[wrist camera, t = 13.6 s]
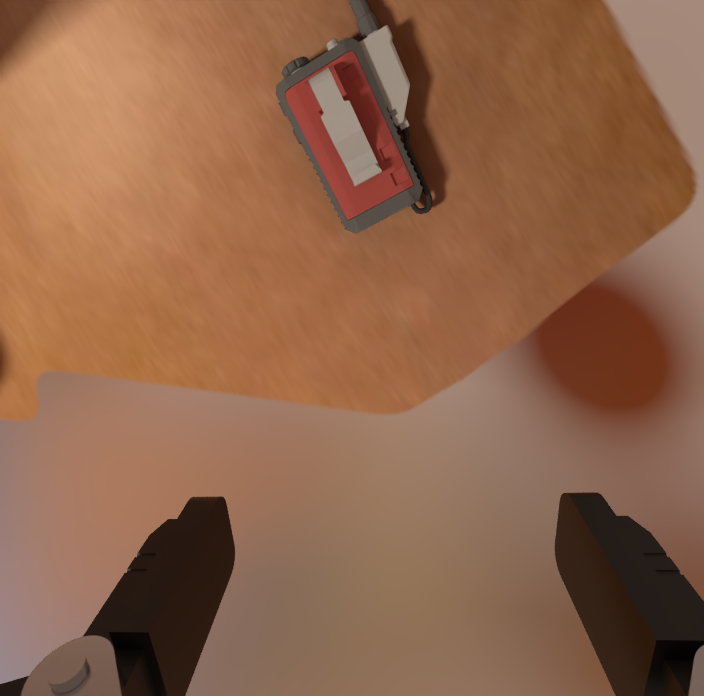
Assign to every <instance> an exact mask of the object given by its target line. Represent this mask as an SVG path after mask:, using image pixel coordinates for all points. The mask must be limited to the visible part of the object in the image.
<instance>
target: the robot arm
mask: <svg viewBox="0 0 704 696" xmlns="http://www.w3.org/2000/svg"><path fill="white" fill-rule="evenodd" d="M555 557H556V562H557V566H558V570H559V573H560V575H561V578H562V580H563V582H564V584H565V586H566V588H567V591H568V593H569V595H570V597H571V599H572V602H573V603H574V606H575V608H576V610H577V612H578V614H579V617H580V619H581V621H582V623H583V625H584V628H585V630H586V632H587V634H588V636H589V639H590V641H591V643H592V645H593V647H594V649H595V652H596V654H597V656H598V658H599V660H600V663H601V665H602V667H603V669H604V671H605V673H606V676H607V678H608V680H609V682H610V684H611V686H612V689H613V691H614V693H615V695H616V696H704V601H703V600H702V599H701V597H700V596H699V595H698V594H697V592H696V591H695V590H694V588H693V587H692V586H691V584H690V583H689V582H688V581H687V579H686V578H685V577H684V575H681V574H680V572H679V569H678V568H677V566H676V565H675V564H674V562H673V561H672V560H671V559H670V557H667V556H666V552H665V551H664V550H663V548H662V547H661V546H660V544H659V543H658V542H657V540H656V539H655V538H654V537H653V536H652V534H651V533H650V532H649V531H647V530H646V529H645V528H643V527H642V526H641V525H639V524H638V523H637V522H635V521H634V520H633V519H631V518H630V517H628V516H616V515H615V513H614V512H613V510H612V509H611V508H610V506H609V505H608V503H607V502H606V500H605V499H604V498H603V496H602V495H601V494H599V493H563V494H562V495H561V498H560V504H559V513H558V522H557V530H556V539H555ZM234 560H235V546H234V540H233V535H232V530H231V525H230V519H229V514H228V509H227V505H226V501H225V499H224V498H223V497H192V498H190V500H189V501H188V502H187V504H186V505H185V507H184V509H183V510H182V512H181V514H180V515H179V517H178V519H168V520H167V521H166V522H164V523H163V524H162V525H161V526H160V527H159V528H157V529H156V530H155V531H154V532H153V533H151V534H150V535H149V537H148V538H147V540H146V541H145V543H144V545H143V546H142V547H141V549H140V550H139V552H138V555H137V557H135V558H134V560H133V561H132V563H131V564H130V566H129V567H128V569H127V573H124V575H123V577H122V578H121V579H120V581H119V582H118V584H117V585H116V587H115V589H114V590H113V592H112V593H111V595H110V596H109V598H108V599H107V601H106V602H105V604H104V605H103V607H102V608H101V610H100V611H99V613H98V614H97V616H96V617H95V619H94V621H93V622H92V624H91V625H90V627H89V628H88V630H87V631H86V633H85V634H84V636H83V637H80V638H77V639H74V640H72V641H69V642H67V643H65V644H63V645H62V646H60V647H58V648H57V649H55V650H54V651H52V652H51V653H50V654H49V655H48V656H46V657H45V658H44V659H43V660H42V661H41V662H40V663H39V664H38V665H37V666H36V668H35V669H34V670H33V671H32V673H31V674H30V675H29V676H27V677H24V678H21V679H17V680H14V681H10V682H7V683H3V684H0V696H185V694H186V692H187V689H188V687H189V684H190V682H191V678H192V676H193V674H194V671H195V668H196V666H197V663H198V660H199V658H200V655H201V653H202V650H203V647H204V645H205V642H206V640H207V637H208V634H209V632H210V629H211V626H212V624H213V621H214V619H215V616H216V613H217V611H218V608H219V605H220V603H221V600H222V598H223V595H224V592H225V590H226V587H227V584H228V582H229V579H230V577H231V574H232V570H233V566H234Z"/></svg>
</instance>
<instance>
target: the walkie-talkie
mask: <svg viewBox="0 0 704 696" xmlns="http://www.w3.org/2000/svg"><path fill="white" fill-rule="evenodd" d="M349 3H350V5H351V7H352V9H353V12H354V14H355V16H356V19H357V21H358V22H357V26H358V28H359V30H360V33H361V35H362V37H363V40H362V41H360V42H358V41H356V40H355V39H353V38H350V39H348V38H344V39H342V40H341V41H340V42H338V40H337V39H333V40H331V41H330V42H329V43H328V44H327V48H328V50H329V51H327V52H326V53H324V54H322V55H321V56H319V57H318V58H316V59H315V60H313V61H311V62H309V60H308V58H307V57H300V58H297V59H295V60H293V61H291V62H290V63H289V64H287V65H286V66H285V68H284V69H283V71H282V75H283V76H284V78H285V79H283V80H282V81H281V82H280V83H279V84H277V85H276V95H277V97H278V99H279V101H280V102H279V105H280V107H281V109H282V111H283V113H284V115H285V116H287V117H288V119H289V121H290V123H291V125H292V127H293V132H294V134H295V136H296V138H297V140H298V142H299V144H302V146H303V148H304V150H305V152H306V154H307V155H309V157H310V159H309V160H310V161H311V162H312V163H313V168H314V169H316V171H317V176H319V177H320V179H321V180H320V182H321V183H323V185H324V190H326V191H327V193H328V194H327V195H328V197H330V199H331V203H333V205H334V207H335V208H334V209H335V210H336V211H337V212H338V217H340V218H341V220H342V221H341V223H342V224H344V226H345V228H344V229H346V230H348V231H351V232H353V233H358V232H360V231H362V230H364V229H366V228H368V227H370V226H372V225H373V224H375V223H377V222H379V221H381V220H383V219H385V218H387V217H389V216H391V215H392V214H394V213H396V212H398V211H400V210H402V209H404V208H406V207H408V206H409V205H411V207H412V209H413V210H414V211H415V212H416V213H419V214H423V213H427V212H428V211H429V210H430V209H431V207H432V196H431V194H430V192H429V189H428V187H427V185H426V183H425V180H424V178H423V176H422V173H421V171H420V169H419V167H418V164H417V162H416V160H415V158H414V155H413V153H412V150H411V148H410V145H409V132H408V129H407V128H408V127H409V123H408V121H407V119H406V116H405V110H406V105H407V99H408V94H409V89H410V82H409V80H408V78H407V75H406V73H405V70H404V68H403V66H402V63H401V61H400V58H399V56H398V54H397V51H396V49H395V46H394V44H393V42H392V37H393V36H392V33H391V31H390V29H389V27H388V25H386V26H384V27H383V28H380V26H379V24H378V21H377V19H376V17H375V15H374V13H373V12H371V10H370V8H369V6H368V3H367V1H366V0H349ZM398 127H399V129H400V131H402V132H403V135H404V138H403V143H402V142H401V140H400V138H401V137H400V135H398V133H397V128H398ZM403 146H404V147H405V149H404V147H403ZM422 189H423V192H424V194H425V196H426V199H427V205H426V207H425V208H421V209H420V208H418V207H417V206H416V204H415V202H417V201H419V199H420V196H421V192H422Z"/></svg>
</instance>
